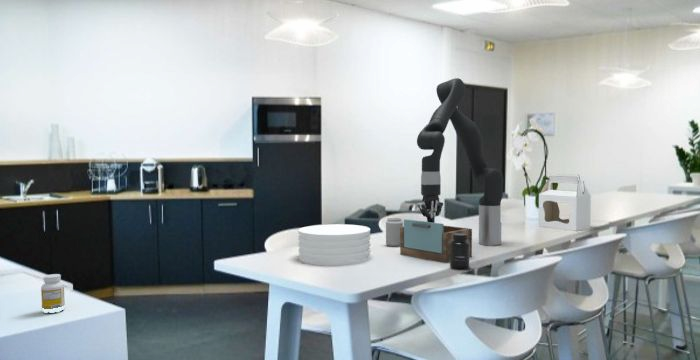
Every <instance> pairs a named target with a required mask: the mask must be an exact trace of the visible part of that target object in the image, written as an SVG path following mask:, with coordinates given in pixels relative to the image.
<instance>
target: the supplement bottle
mask: <svg viewBox="0 0 700 360" xmlns="http://www.w3.org/2000/svg"><path fill="white" fill-rule="evenodd" d="M453 239H454V241H452V242H451V244H450V262H449V267H450V268H451V269H454V270H468V269H469V268H470V258H471V257H470V244H469V243H468V242H467V241H466V240H467V234H461V233H457V234H453Z"/></svg>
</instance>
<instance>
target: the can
mask: <svg viewBox="0 0 700 360" xmlns="http://www.w3.org/2000/svg"><path fill="white" fill-rule="evenodd" d="M400 227H404V221H403V220H402V218H401V217H388V218H387V219H386V221H385V244H386V246H387V247H392V248H394V247H395V248H398V247H400Z"/></svg>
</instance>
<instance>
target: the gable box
mask: <svg viewBox="0 0 700 360" xmlns="http://www.w3.org/2000/svg"><path fill="white" fill-rule="evenodd" d="M554 183H555V184H556V183H557V184H574V185H577V188H576V189H577V190H564V189H553V187H554V186H553V184H554ZM591 199H592V195H591V193H590V191H589V189H588V188H587V187H586V185H585V181H583V180H581V177H580V175H579V174H571V173H569V174H567V173H550V175H549V176H548V179H545V184H544V185H543V186H542V189H541V190H540V192H539V194H538V227H539V228H546V229H553V230H554V229H555V230H563V231H571V232H572V231H573V232H579V231H584V230H585V231H586V230H590V229H591V204H592V202H591V201H592V200H591ZM558 203H559V204H562V203H566V204H570V206H571V209H570V211H569V215H568V218H566V219H565V218H564V219H562V218H560V214H561V213H560V212H561V211H560V208H559V205H558Z"/></svg>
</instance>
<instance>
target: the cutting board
mask: <svg viewBox="0 0 700 360" xmlns="http://www.w3.org/2000/svg"><path fill="white" fill-rule="evenodd" d="M443 225H444V223H441V222H440V223H439V222H435V223H433V222H427V221H425V220H423V221H422V220H416V219H415V220H414V219H403V227H404V247H407V248H413V249H419V250H425V251H431V252H437V253H443Z"/></svg>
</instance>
